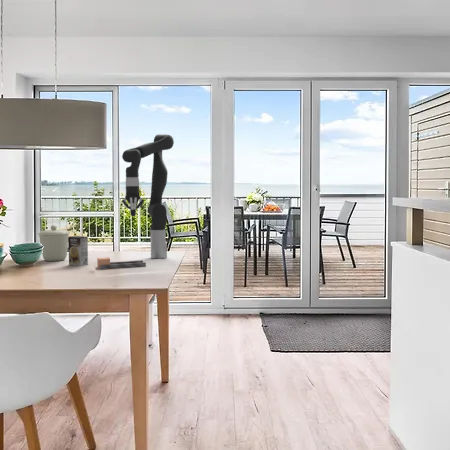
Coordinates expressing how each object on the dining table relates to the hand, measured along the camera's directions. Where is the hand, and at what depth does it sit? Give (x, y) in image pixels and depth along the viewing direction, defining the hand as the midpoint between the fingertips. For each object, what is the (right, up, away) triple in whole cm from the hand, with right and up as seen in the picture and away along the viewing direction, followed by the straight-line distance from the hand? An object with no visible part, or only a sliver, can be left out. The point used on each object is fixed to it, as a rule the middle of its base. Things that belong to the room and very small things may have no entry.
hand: (133, 216), depth 286 cm
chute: (-3, -28, -14) cm, 32 cm away
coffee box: (-31, -28, -1) cm, 41 cm away
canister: (-51, -26, +19) cm, 60 cm away
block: (-12, -28, -17) cm, 35 cm away
